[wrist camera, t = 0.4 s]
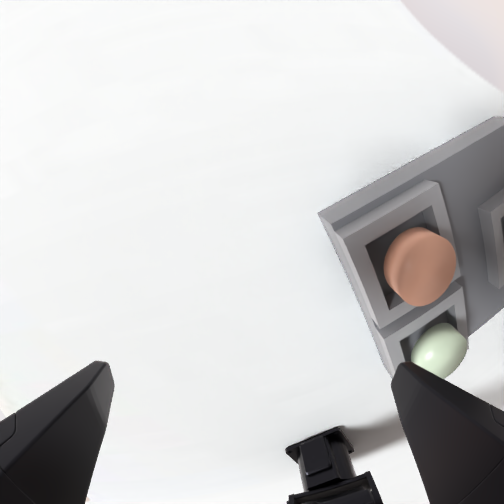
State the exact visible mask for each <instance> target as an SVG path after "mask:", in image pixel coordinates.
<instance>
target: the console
mask: <svg viewBox="0 0 504 504" xmlns="http://www.w3.org/2000/svg"><path fill="white" fill-rule="evenodd" d="M318 215H319V217H320V219H321V221H322V223H323V226H324V228H325V230H326V232H327V234H328V236H329V238H330V240H331V242H332V244H333V246H334V249H335V251H336V253H337V255H338V257H339V259H340V261H341V264H342V266H343V268H344V270H345V272H346V275H347V277H348V279H349V281H350V284H351V286H352V288H353V291H354V293H355V295H356V297H357V300H358V302H359V304H360V307H361V309H362V312H363V314H364V316H365V319H366V321H367V324H368V326H369V329H370V331H371V334H372V336H373V339H374V341H375V344H376V346H377V349H378V351H379V354H380V357H381V359H382V362H383V364H384V366H385V368H386V369H387V371H388V373H389V374H390V376H391V378H392V379H393V376H394V374H395V371H396V369H397V366H398V365H399V364H400V363H401V362H408V361H410V362H411V353H412V350H413V347H414V345H415V344H416V342H417V341H418V339H419V338H420V337H421V336H422V335H423V334H424V333H425V332H426V331H427V330H428V329H430V328H431V327H433V326H435V325H437V324H439V323H449V324H451V325H452V326H453V327H454V328H455V329H456V330H457V331H458V332H459V333H460V334H461V335H462V336H463V337H464V338H465V339H466V340H467V349H469V346H468V337H469V336H470V335H471V334H472V333H474V332H475V331H476V330H477V329H479V328H480V327H481V326H482V325H484V324H485V323H486V322H487V321H488V320H490V319H491V318H492V317H493V316H494V315H495V314H497V313H498V312H499V311H500V310H501V309H502V308H503V307H504V117H492V118H490V119H488V120H486V121H485V122H483V123H481V124H479V125H477V126H475V127H474V128H472V129H470V130H468V131H466V132H464V133H463V134H461V135H459V136H457V137H455V138H453V139H452V140H450V141H448V142H446V143H444V144H442V145H441V146H439V147H437V148H435V149H433V150H431V151H430V152H428V153H426V154H424V155H422V156H421V157H419V158H417V159H415V160H413V161H411V162H410V163H408V164H406V165H404V166H402V167H400V168H399V169H397V170H395V171H393V172H391V173H389V174H388V175H386V176H384V177H382V178H380V179H379V180H377V181H375V182H373V183H371V184H369V185H368V186H366V187H364V188H362V189H360V190H359V191H357V192H355V193H353V194H351V195H349V196H348V197H346V198H344V199H342V200H340V201H339V202H337V203H335V204H333V205H331V206H329V207H328V208H326V209H324V210H322V211H320V212H319V213H318ZM414 227H423V228H426V229H428V230H430V231H432V232H434V233H436V234H437V235H439V236H441V237H443V238H445V239H447V240H448V241H449V242H450V243H451V245H452V246H453V248H454V251H455V254H456V268H455V273H454V276H453V279H452V281H451V283H450V285H449V286H448V288H447V289H446V291H445V292H444V293H443V294H442V295H441V296H440V297H439V298H438V299H437V300H435V301H434V302H432V303H430V304H428V305H425V306H412V305H410V304H408V303H406V302H405V301H404V300H403V299H402V298H401V297H400V296H399V295H398V294H397V293H396V292H395V291H394V290H393V289H392V288H391V287H390V286H389V284H388V283H387V281H386V279H385V275H384V260H385V256H386V253H387V251H388V249H389V247H390V245H391V244H392V242H393V241H394V240H395V238H396V237H397V236H398V235H400V234H401V233H402V232H404V231H406V230H407V229H410V228H414Z"/></svg>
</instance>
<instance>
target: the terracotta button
mask: <svg viewBox="0 0 504 504" xmlns="http://www.w3.org/2000/svg"><path fill="white" fill-rule="evenodd" d="M455 268H456V254H455V251H454V248H453V246H452V245H451V243H450V242H449V241H448V240H447V239H445V238H443V237H441V236H439V235H437V234H436V233H434V232H432V231H430V230H428V229H426V228H423V227H414V228H410V229H407V230H406V231H404V232H402V233H401V234H400V235H398V236H397V237H396V238H395V240H394V241H393V242H392V244H391V245H390V247H389V249H388V251H387V253H386V256H385V260H384V275H385V279H386V281H387V283H388V284H389V286H390V287H391V288H392V289H393V290H394V291H395V292H396V293H397V294H398V295H399V296H400V297H401V298H402V299H403V300H404V301H405V302H406V303H408V304H410V305H412V306H425V305H428V304H430V303H432V302H434V301H435V300H437V299H438V298H439V297H440V296H441V295H442V294H443V293H444V292H445V291H446V289H447V288H448V286H449V285H450V283H451V281H452V279H453V276H454V273H455Z"/></svg>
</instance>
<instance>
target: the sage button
mask: <svg viewBox="0 0 504 504" xmlns="http://www.w3.org/2000/svg"><path fill="white" fill-rule="evenodd" d="M466 351H467V340H466V339H465V338H464V337H463V336H462V335H461V334H460V333H459V332H458V331H457V330H456V329H455V328H454V327H453V326H452V325H451V324H449V323H439V324H437V325H435V326H433V327H431V328H430V329H428V330H427V331H426V332H425V333H424V334H423V335H422V336H421V337H420V338H419V339H418V341H417V342H416V344H415V345H414V347H413V350H412V353H411V362H413V363H415V364H417V365H418V366H420V367H422V368H424V369H426V370H427V371H429V372H431V373H433V374H435V375H437V376H438V377H440V378H442V379H444V378H446V377H447V376H449V375H450V374H451V373H452V372H453V371H454V370H455V369H456V368H457V367H458V366H459V365H460V363H461V362H462V360H463V359H464V357H465V354H466Z"/></svg>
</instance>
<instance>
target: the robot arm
mask: <svg viewBox="0 0 504 504" xmlns="http://www.w3.org/2000/svg"><path fill="white" fill-rule="evenodd" d="M391 389H392V392H393V396H394V399H395V403H396V406H397V410H398V413H399V417H400V421H401V424H402V427H403V430H404V432H405V435H406V437H407V440H408V443H409V445H410V448H411V450H412V453H413V456H414V459H415V461H416V464H417V467H418V470H419V472H420V475H421V478H422V481H423V484H424V487H425V490H426V493H427V496H428V499H429V502H430V504H504V411H502V410H500V409H498V408H496V407H494V406H493V405H490V404H489V403H487V402H485V401H483V400H481V399H479V398H477V397H476V396H474V395H472V394H470V393H468V392H466V391H464V390H462V389H461V388H459V387H457V386H455V385H453V384H451V383H450V382H448V381H446V380H444V379H442V378H440V377H438V376H437V375H435V374H433V373H431V372H429V371H427V370H426V369H424V368H422V367H420V366H418V365H417V364H415V363H413V362H410V361H408V362H401V363H400V364H399V365H398V366H397V369H396V371H395V374H394V376H393V379H392V382H391ZM113 392H114V380H113V377H112V373H111V369H110V366H109V364H108V363H107V362H103V361H94V362H92V363H91V364H89V365H88V366H86V367H85V368H83V369H82V370H80V371H79V372H77V373H76V374H74V375H72V376H71V377H69V378H68V379H66V380H65V381H63V382H62V383H60V384H59V385H57V386H55V387H54V388H52V389H51V390H49V391H48V392H46V393H45V394H43V395H41V396H40V397H38V398H37V399H35V400H34V401H32V402H31V403H29V404H27V405H26V406H24V407H23V408H21V409H20V410H18V411H17V412H16V413H13V414H12V415H10V416H9V417H7V418H5V419H4V420H2V421H0V504H85V501H86V497H87V493H88V489H89V486H90V482H91V478H92V475H93V471H94V468H95V464H96V461H97V457H98V454H99V451H100V447H101V444H102V441H103V438H104V434H105V431H106V427H107V422H108V417H109V412H110V407H111V402H112V397H113ZM285 451H286V454H287V455H289V456H290V457H291V458H292V459H293V460H294V461H295V462H296V463H298V464H299V469H300V474H301V479H302V484H303V489H304V492H303V493H299V494H295V495H294V494H292V495H289V501H287V504H383V502H382V499H381V497H380V494H379V492H378V489H377V487H376V485H375V482H374V480H373V478H372V475H371V473H370V471H368V472H365V473H364V474H362V475H359V476H356V473H355V471H354V468H353V465H352V462H351V459H350V456H349V454H350V453H352V452H354V448H353V446H352V445H351V443H350V442H349V441H348V439H347V438H346V436H345V435H344V434H343V432H342V431H341V429H340V428H334V429H332V430H330V431H327V432H325V433H323V434H320V435H318V436H316V437H313V438H311V439H308V440H306V441H303V442H301V443H298V444H296V445H293V446H290V447H288V448H286V449H285Z"/></svg>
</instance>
